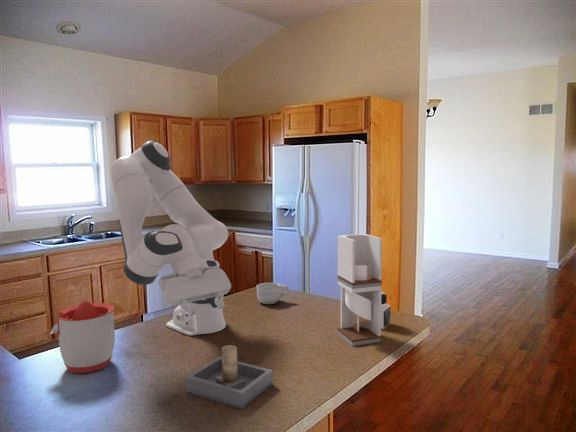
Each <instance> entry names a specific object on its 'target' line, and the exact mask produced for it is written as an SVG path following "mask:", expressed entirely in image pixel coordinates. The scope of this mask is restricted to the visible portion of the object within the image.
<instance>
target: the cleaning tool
mask: <svg viewBox="0 0 576 432" xmlns="http://www.w3.org/2000/svg"><path fill="white" fill-rule="evenodd" d="M221 357H222V374H223V375H220V376H217V377H215V381H216V383H218V384H221V385H225V386H228V387H231V388H235V389H239V388H242V387H245V386H246V385H245V380H244V379H242V378H240V377H239V376H238V367H237V361H238V347H237V346H236V345H232V344H231V345H230V344H228V345H227V344H226V345H224V346H222V347H221Z"/></svg>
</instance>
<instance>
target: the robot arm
mask: <svg viewBox="0 0 576 432" xmlns="http://www.w3.org/2000/svg"><path fill="white" fill-rule="evenodd" d="M170 158H171V157H170V153H169V151H167V149H166V148H165V147H164V145H162V144H161V143H160V142H159V141H156V140H148V141H146V142H144V143H142V144H141V147H139V148H138V149H136V150H135V151H133V152H132V153H131V154H130V155H129V156H122V157H119V158H117V159H116V160H114V162H113V163H112V165H111V168H110V172H111V173H110V175H111V182H112V186H113V190H114V193H115V197H116V202H117V209H118V222H119V223H118V224H119V231H120V236H121V241H122V248H123V251H124V253H123V254H124V264H123V273H124V274H125V276H126V278H127V279H128V280H129V281H130V282H132V283H134V284H136V285H141V286H146V285H150V284H152V283H154V282H155V281H156V279H157V277H158V276H159V274H160V272H161V271H162V269H163V268H164V267H165V266H166V265H170V266H171V269H172V271H173V273H171V274H169V275H163V276H161V278H159V279H158V285H159V287H160V289H161V290H162V294H163V298H164V302H165V304H166V305H167V306H168V307H169V308H170V307H175V306H176V308H175V309H174V311H173V314H172V319H171V320H169V321H168V322H167V323H166V327H167V328H168V329H171V330H175V331H177V332H179V333H182V334H185V335H186V336H196V335H197V336H198V335H205V334H207V335H208V334H213V333H217V332H220V331H222V330H224V329H225V328H226V326H227V325H226V321H225V317H224V313H223V309H224V308H225V302H224V295H227V294H228V293H229V292H230V291H231V289H232V283H231V282H230V279H229V277H228V275H227V273H226V272H225V271H224V270H223V269H222V268H220V266H221V265H220V263H219V261H218V260H215V258H214V251H215V250H217V249H219V248H221V247H222V246H223V245H224V244H225V243H226V242H227V240H228V237H229V231H228V228H227V225H226V224H225V223H223V222H221V221H219V220H217V219H216V218H214V216H212V215H211V214H210V213H209V212H208V211H207V210H206V209H204V208H203V206H201V204H199V202H198V201H197V200H196V199H195V198H194V196H193V195H192V194H191V192H190V191H189V189H188V188H187V187H186V185H185V184H184V183H183V181H182V180H181V179H180V178H179V177H178V175H176V173H174V172H173V171H172V170H171V159H170ZM153 195H154V196H153ZM154 197H155V198H156V200H157V201H158V203H159V204H160V205H161V207H162V209H164V211H165V212H166V214H167V215H168V217H169V218H170V220H171V221H173V222H174V223H173V224H168V225H165V226H164V227H163V228H162V229H161V230H152V231H148V232H147V233H146V234H145V235H144V236H143V225H144V221H145V218H146V216H147V215H148V212H149V209H150V207H151V206H152V203H153V198H154Z"/></svg>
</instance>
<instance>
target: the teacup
mask: <svg viewBox="0 0 576 432" xmlns="http://www.w3.org/2000/svg"><path fill="white" fill-rule="evenodd" d="M283 288H285V289H286V290H285V291H284V292H283V293H282V290H283ZM289 291H290V288H289V287H288V285H286V284H280V283H278V282H263V283H259V284H256V297H257V300H258V301H259V302H261V303H262V304H264V305H273V304H276V303H278V302H279V301H280V300H281V299H282V298H283V297H284V296H285V295H287V294H288V293H289ZM261 303H260V304H261Z"/></svg>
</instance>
